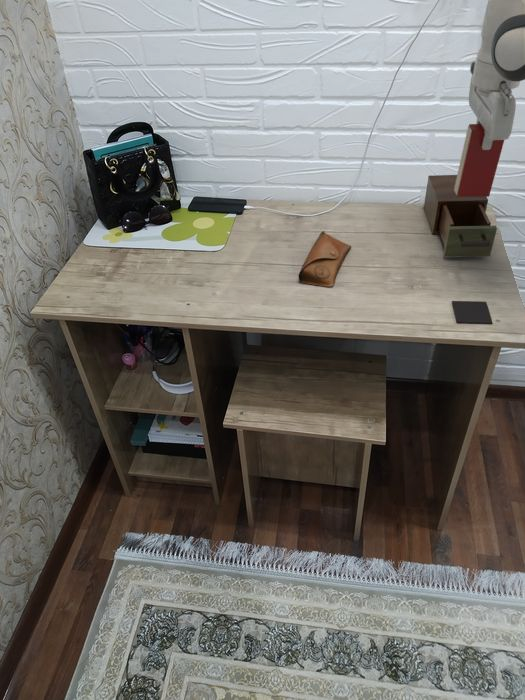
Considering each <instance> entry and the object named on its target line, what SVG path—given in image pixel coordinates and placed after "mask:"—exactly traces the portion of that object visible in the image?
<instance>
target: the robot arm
mask: <svg viewBox="0 0 525 700" xmlns="http://www.w3.org/2000/svg"><path fill="white" fill-rule="evenodd" d="M480 36H481V43H480V47H479V50H478V52H477V54H476V59H475V60H472V61H471V62H470V67H469V72H470V74H471V77H470V81H469V82H470V84H469V91H468V106H469V107H470V109H471V111H472V113H473V114H474V115H475V117H476V124H481V125H482V126H483V128H484V130H485V132H484V133H485V135H484V138H483V139H482V141H481V147H482V149H483V150H489V149H491V146H492V141H493V140H504V141H506V140H508V139H509V138H510V137H511V134H512V132H513V131H512V130H513V126H514V121H515V115H516V108H517V100H516V97H515V96H514V95H513V91H512V90H514V89H516V88H518V87H519V86H520V84H521V82H522V81H525V0H487V3H486V8H485V11H484V16H483V20H482V26H481V31H480Z"/></svg>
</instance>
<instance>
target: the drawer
mask: <svg viewBox="0 0 525 700" xmlns="http://www.w3.org/2000/svg"><path fill="white" fill-rule="evenodd" d="M486 212H487V211H486ZM486 212H485V210H484V208H483V206H482V204H481V203H472V204H442V207H441V212H440V218H439V224H438V230H439V232H440V238H441V241H442V244H443V247H444V249H443V257H444V258H447V257H448V258H449V257H451V258H452V257H490V256H491V253H492V250H493V246H494V242H495V237H496V234H497V231H498V227H497V225H492V223H491V221H490V219H489V216H488V215H487V213H486Z"/></svg>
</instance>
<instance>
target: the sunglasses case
mask: <svg viewBox="0 0 525 700" xmlns="http://www.w3.org/2000/svg"><path fill="white" fill-rule="evenodd" d="M351 249H352V245H350V244H347V243H346V242H343V241H341V240H340V239H337V238H335V237H333V236H332V235H329V234H328V233H326V232H325V230H322V231H321V232H320V234H319V235H318V237H317V238H316V240H315V242H314V244H313V245H312V246H311V249H310V251H309V252H308V254H307V256H306V258H305V260H304V262H303V264H302V265H301V268H300V271H299V273H298V280H299V281H300V283H302V284H306V285H308V286H309V285H310V286H315V287H325V288H330V287H334V286H335V281H336V278H337V275H338V273H339V270H340V268H341V266H342V264H343V261H344V260H345V257H346V256H347V255H348V253H349V251H350V250H351Z"/></svg>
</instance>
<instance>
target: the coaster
mask: <svg viewBox="0 0 525 700" xmlns="http://www.w3.org/2000/svg"><path fill="white" fill-rule="evenodd" d="M451 305H452V309H453V314H454V317H455V318H454V319H455V322H456V324H469V325H471V324H475V325H493V319H492V316H491V313H490V309H489V306H488V303H487V301H482V300H481V301H479V300H478V301H476V300H475V301H474V300H452V301H451Z"/></svg>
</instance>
